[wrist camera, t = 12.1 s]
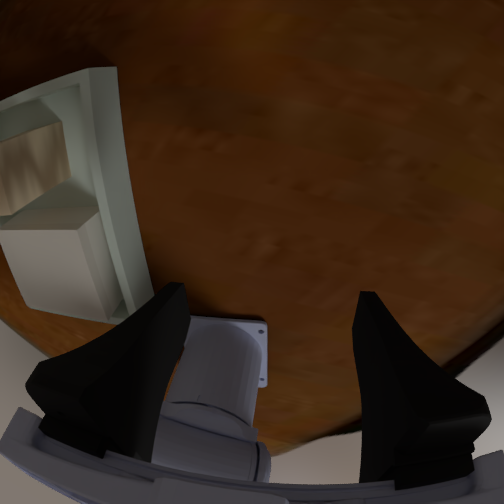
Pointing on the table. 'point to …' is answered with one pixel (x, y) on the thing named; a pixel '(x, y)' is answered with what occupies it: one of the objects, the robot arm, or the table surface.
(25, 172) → the maple block
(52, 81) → the pale green tray
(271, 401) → the table surface
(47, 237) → the light gray block
